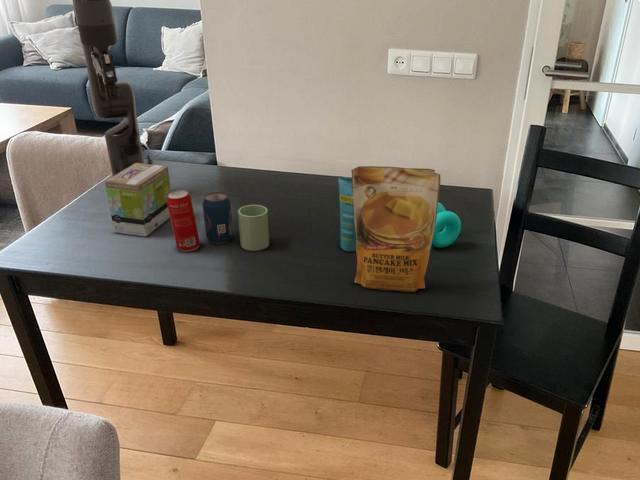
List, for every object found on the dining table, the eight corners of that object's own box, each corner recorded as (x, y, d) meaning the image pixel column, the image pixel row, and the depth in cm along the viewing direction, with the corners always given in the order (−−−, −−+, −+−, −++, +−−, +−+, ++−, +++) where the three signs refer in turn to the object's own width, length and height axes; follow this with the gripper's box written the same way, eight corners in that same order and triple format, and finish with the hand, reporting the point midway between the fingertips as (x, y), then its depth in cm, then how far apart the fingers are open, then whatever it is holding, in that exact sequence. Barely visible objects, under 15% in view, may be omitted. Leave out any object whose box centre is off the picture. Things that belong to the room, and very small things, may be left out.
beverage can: (204, 245, 150) (198, 191, 142) (185, 255, 145) (177, 199, 138) (188, 239, 153) (181, 185, 145) (169, 249, 148) (160, 194, 140)
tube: (333, 249, 151) (334, 178, 141) (340, 241, 155) (340, 172, 145) (361, 254, 149) (363, 183, 139) (366, 245, 153) (369, 176, 143)
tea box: (148, 237, 153) (139, 184, 146) (113, 233, 155) (102, 180, 147) (175, 214, 166) (168, 164, 158) (142, 210, 167) (134, 161, 160)
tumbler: (236, 241, 153) (233, 207, 148) (263, 235, 156) (260, 202, 151) (246, 253, 147) (244, 218, 143) (273, 247, 151) (272, 213, 146)
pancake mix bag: (350, 273, 140) (353, 161, 126) (430, 279, 139) (442, 166, 125) (347, 287, 134) (349, 171, 120) (430, 294, 133) (442, 178, 119)
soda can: (204, 235, 155) (199, 193, 149) (230, 231, 158) (226, 189, 152) (209, 246, 150) (204, 203, 144) (236, 242, 152) (232, 199, 146)
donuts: (428, 252, 151) (431, 217, 145) (409, 236, 158) (411, 202, 153) (460, 245, 154) (465, 211, 149) (440, 230, 162) (444, 196, 157)
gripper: (120, 25, 125) (132, 101, 133) (107, 16, 135) (120, 88, 144) (82, 26, 122) (97, 105, 130) (72, 17, 132) (87, 90, 140)
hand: (109, 96), depth 137 cm, fingers open, 8 cm apart
